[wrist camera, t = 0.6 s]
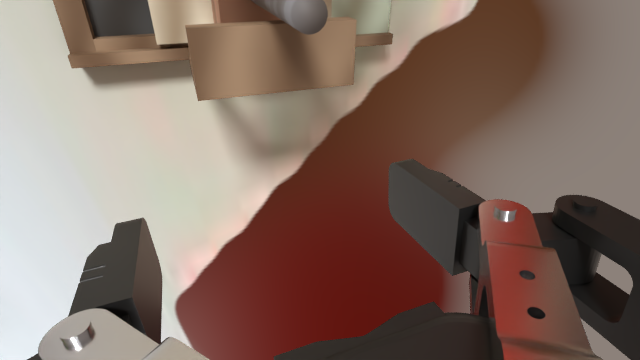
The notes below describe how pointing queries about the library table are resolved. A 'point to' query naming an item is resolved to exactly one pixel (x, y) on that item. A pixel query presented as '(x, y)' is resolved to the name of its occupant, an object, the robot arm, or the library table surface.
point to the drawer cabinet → (228, 46)
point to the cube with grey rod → (234, 15)
